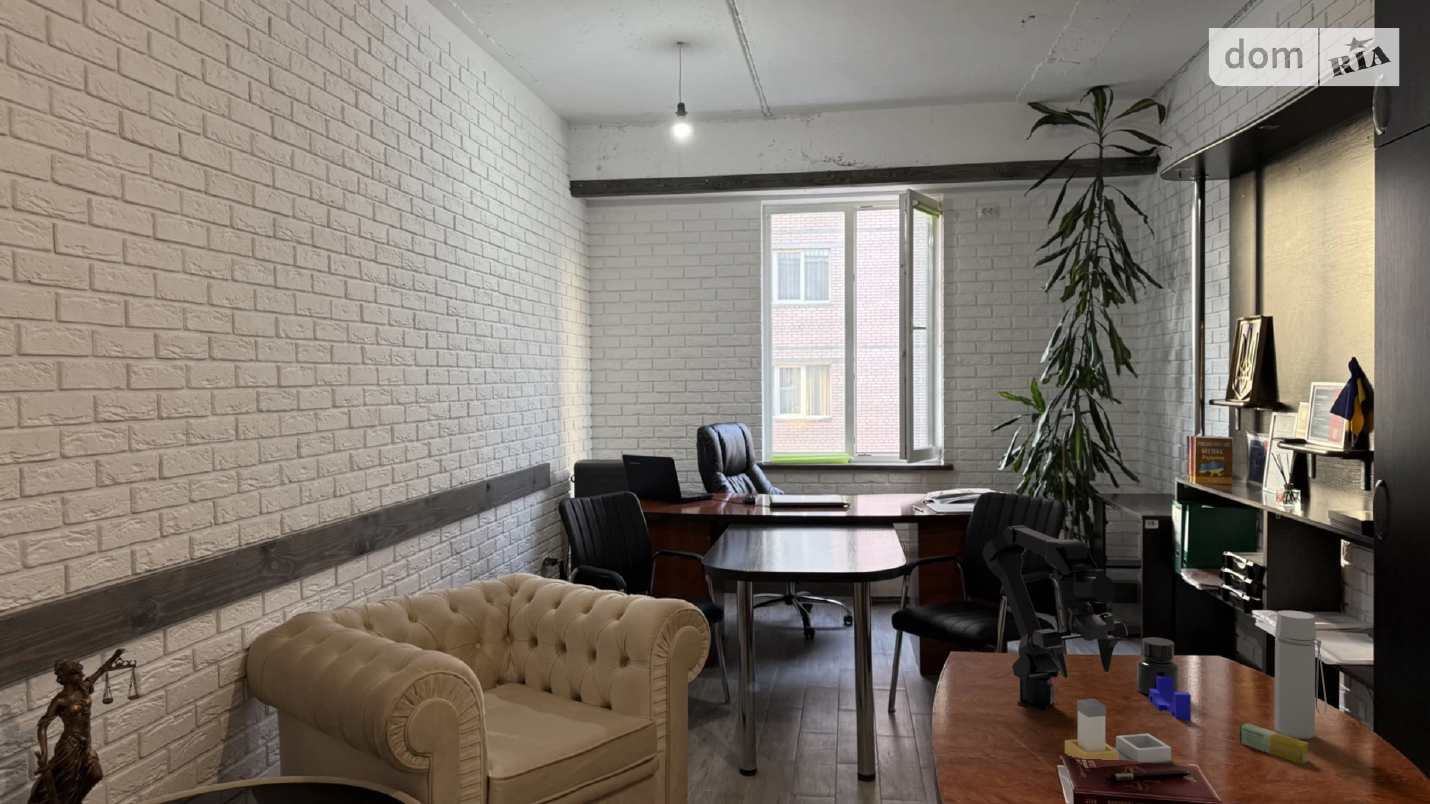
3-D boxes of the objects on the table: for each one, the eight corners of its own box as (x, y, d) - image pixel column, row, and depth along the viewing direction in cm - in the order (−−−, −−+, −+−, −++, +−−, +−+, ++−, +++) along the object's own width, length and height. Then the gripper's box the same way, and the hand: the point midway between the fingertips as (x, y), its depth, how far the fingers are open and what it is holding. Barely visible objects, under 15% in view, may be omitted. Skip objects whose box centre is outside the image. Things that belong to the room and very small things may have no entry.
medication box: (1238, 744, 184) (1238, 724, 183) (1245, 740, 185) (1245, 721, 185) (1301, 765, 173) (1301, 745, 173) (1309, 762, 175) (1309, 741, 175)
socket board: (1086, 772, 171) (1086, 755, 171) (1063, 754, 179) (1063, 739, 179) (1172, 764, 174) (1172, 748, 174) (1146, 747, 182) (1146, 732, 182)
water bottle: (1278, 738, 185) (1278, 617, 185) (1270, 724, 193) (1270, 608, 192) (1331, 744, 182) (1331, 621, 181) (1321, 730, 189) (1321, 611, 189)
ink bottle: (1182, 689, 215) (1183, 639, 214) (1179, 701, 207) (1179, 649, 207) (1138, 682, 220) (1138, 633, 220) (1132, 693, 212) (1132, 643, 212)
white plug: (1087, 763, 173) (1087, 706, 173) (1077, 755, 177) (1077, 699, 177) (1105, 762, 174) (1105, 705, 174) (1094, 754, 178) (1094, 698, 177)
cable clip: (1149, 701, 208) (1149, 675, 208) (1169, 702, 207) (1170, 676, 207) (1168, 721, 196) (1168, 694, 196) (1190, 722, 195) (1190, 694, 195)
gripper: (1049, 610, 185) (1062, 688, 183) (1135, 598, 187) (1148, 675, 185) (1026, 604, 196) (1037, 678, 194) (1107, 593, 198) (1119, 666, 196)
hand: (1086, 674), depth 192 cm, fingers open, 9 cm apart
